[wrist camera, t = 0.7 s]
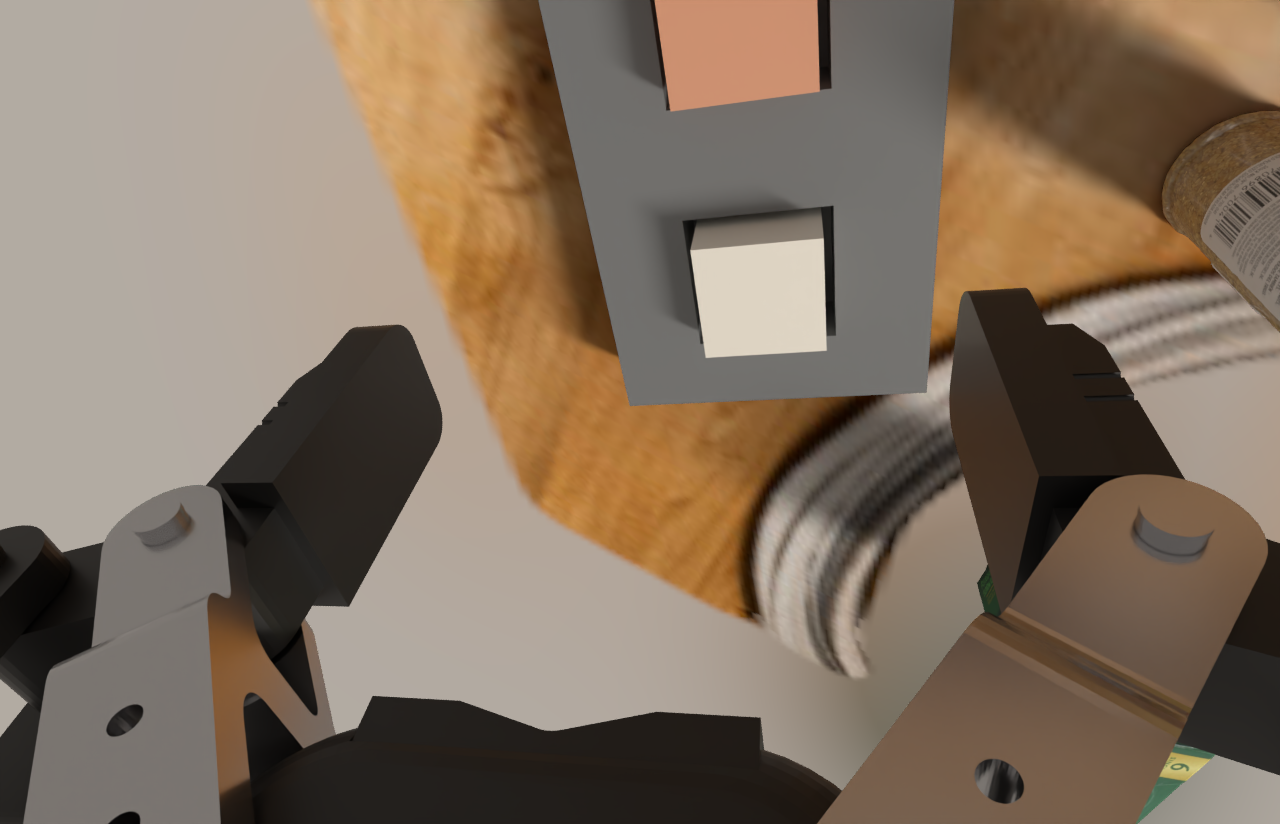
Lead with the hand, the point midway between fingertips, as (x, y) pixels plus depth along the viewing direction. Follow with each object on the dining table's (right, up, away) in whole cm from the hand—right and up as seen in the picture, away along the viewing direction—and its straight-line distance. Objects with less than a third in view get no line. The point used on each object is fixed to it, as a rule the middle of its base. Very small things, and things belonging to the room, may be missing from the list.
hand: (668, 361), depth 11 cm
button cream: (+4, +5, +17) cm, 19 cm away
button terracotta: (+3, +12, +12) cm, 17 cm away
